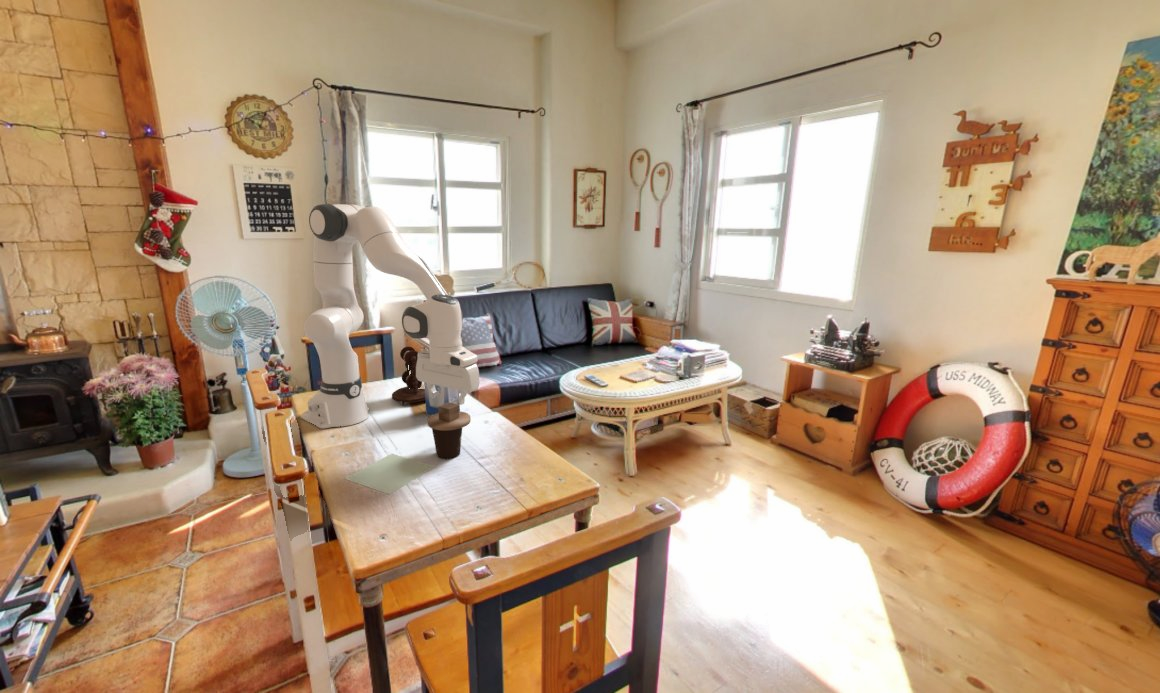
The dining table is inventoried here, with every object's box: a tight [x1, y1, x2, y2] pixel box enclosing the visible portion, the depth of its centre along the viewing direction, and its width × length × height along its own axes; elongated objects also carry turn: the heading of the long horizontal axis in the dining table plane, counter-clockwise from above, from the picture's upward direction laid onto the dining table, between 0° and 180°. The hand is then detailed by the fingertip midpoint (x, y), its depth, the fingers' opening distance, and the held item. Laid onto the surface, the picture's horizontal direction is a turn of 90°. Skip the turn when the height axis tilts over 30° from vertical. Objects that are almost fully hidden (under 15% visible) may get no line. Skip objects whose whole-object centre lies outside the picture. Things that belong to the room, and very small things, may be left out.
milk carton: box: [423, 382, 461, 416], centre depth 169 cm, size 10×6×20 cm, turn 67°
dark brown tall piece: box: [391, 346, 425, 406], centre depth 181 cm, size 15×15×20 cm
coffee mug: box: [431, 427, 463, 460], centre depth 141 cm, size 12×9×10 cm
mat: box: [344, 453, 435, 495], centre depth 129 cm, size 16×16×1 cm
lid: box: [427, 402, 471, 430], centre depth 139 cm, size 12×12×5 cm
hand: (447, 400), depth 138 cm, fingers open, 8 cm apart
